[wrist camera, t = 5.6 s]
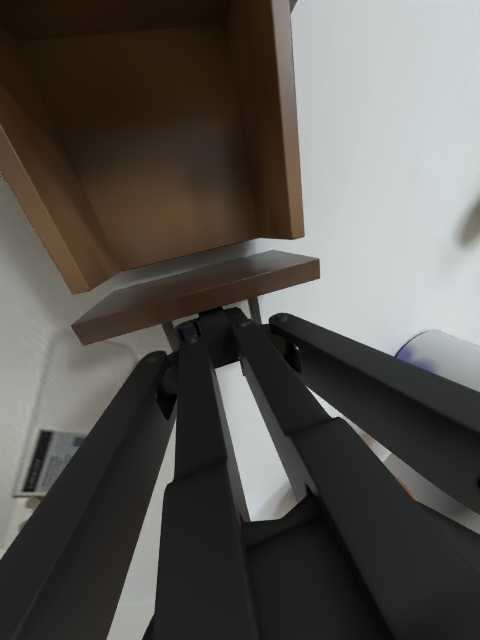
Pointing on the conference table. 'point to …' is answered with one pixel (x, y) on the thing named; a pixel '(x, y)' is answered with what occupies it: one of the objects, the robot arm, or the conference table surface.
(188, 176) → the drawer
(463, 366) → the container
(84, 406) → the conference table surface
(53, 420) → the conference table surface
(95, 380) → the conference table surface
